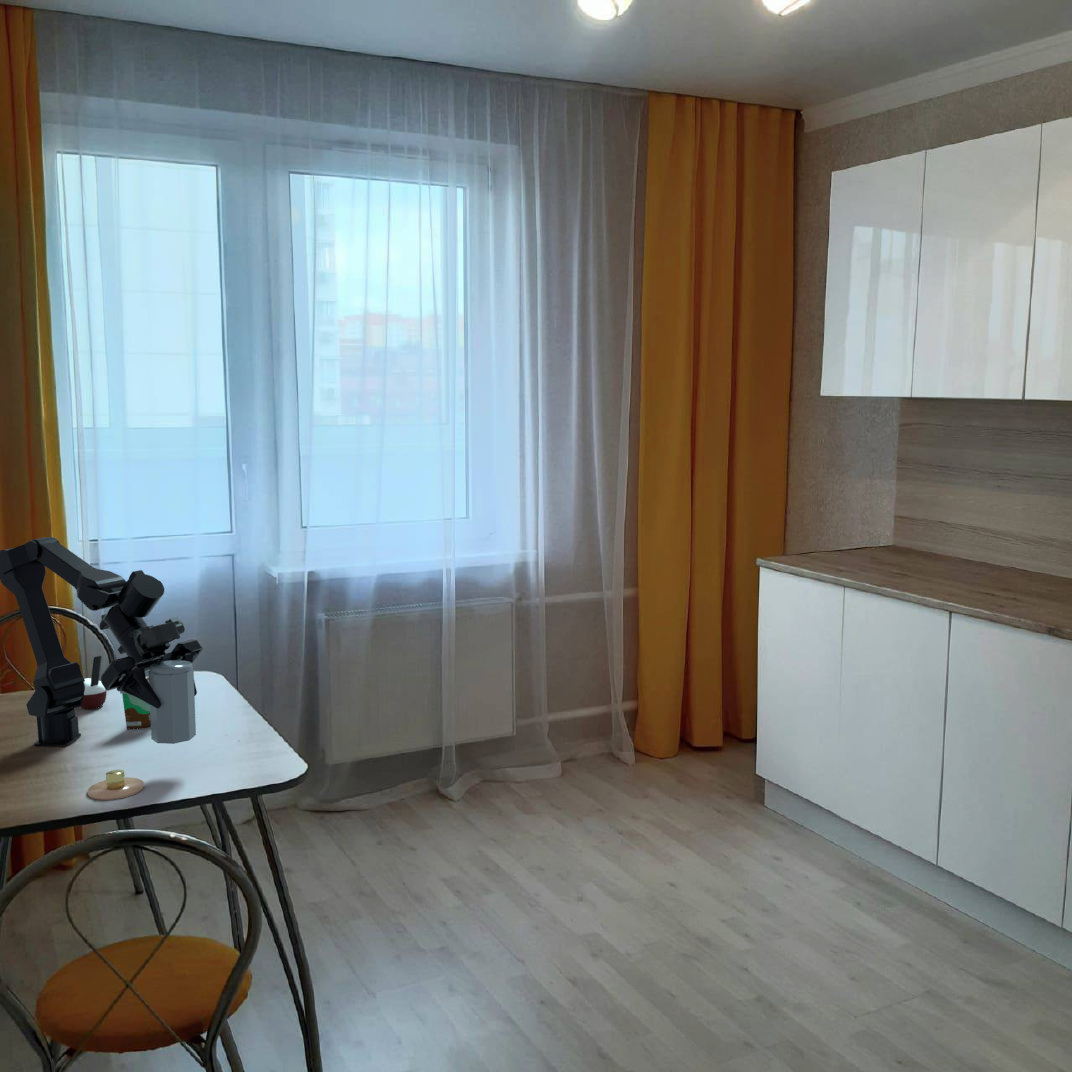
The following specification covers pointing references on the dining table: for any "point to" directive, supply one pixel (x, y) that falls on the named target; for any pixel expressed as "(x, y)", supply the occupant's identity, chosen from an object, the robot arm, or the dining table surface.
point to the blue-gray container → (173, 702)
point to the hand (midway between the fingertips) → (177, 700)
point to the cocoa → (94, 688)
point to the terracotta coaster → (103, 793)
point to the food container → (136, 711)
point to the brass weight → (115, 780)
